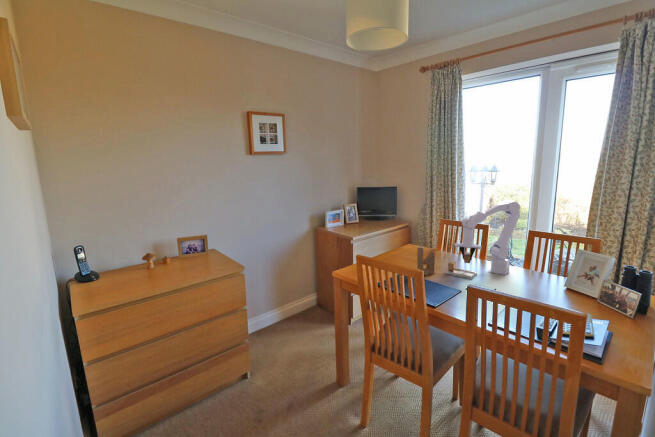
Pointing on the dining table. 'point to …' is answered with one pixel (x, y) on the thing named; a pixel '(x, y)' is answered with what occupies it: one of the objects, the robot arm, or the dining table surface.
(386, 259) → the dining table surface
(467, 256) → the tan cardboard box
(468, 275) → the rail
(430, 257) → the wooden block
